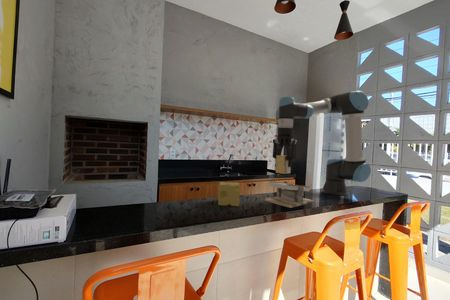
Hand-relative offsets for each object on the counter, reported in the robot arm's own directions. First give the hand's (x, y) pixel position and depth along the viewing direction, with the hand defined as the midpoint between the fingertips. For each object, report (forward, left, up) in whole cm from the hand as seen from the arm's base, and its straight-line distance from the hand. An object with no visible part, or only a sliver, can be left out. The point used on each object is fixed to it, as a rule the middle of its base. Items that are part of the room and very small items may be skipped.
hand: (282, 172), depth 120 cm
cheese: (+24, -15, -16) cm, 33 cm away
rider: (0, 0, 0) cm, 0 cm away
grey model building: (-7, 0, -12) cm, 14 cm away
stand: (-7, 0, -16) cm, 18 cm away
